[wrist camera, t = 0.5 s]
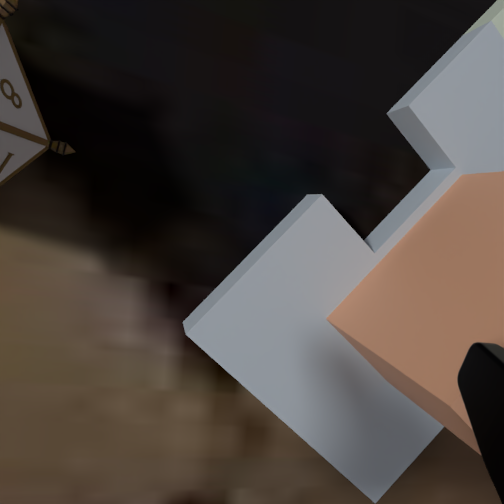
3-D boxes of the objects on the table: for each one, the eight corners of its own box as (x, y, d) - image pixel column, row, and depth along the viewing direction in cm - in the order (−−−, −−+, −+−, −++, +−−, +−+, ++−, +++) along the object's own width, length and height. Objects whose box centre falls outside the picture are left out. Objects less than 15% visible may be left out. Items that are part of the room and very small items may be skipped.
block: (388, 382, 22) (541, 502, 13) (325, 318, 21) (449, 406, 12) (515, 243, 23) (740, 271, 14) (462, 174, 21) (672, 158, 13)
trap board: (357, 479, 25) (390, 524, 21) (182, 322, 21) (188, 345, 18) (683, 119, 27) (760, 108, 23) (571, -77, 23) (642, -123, 20)
